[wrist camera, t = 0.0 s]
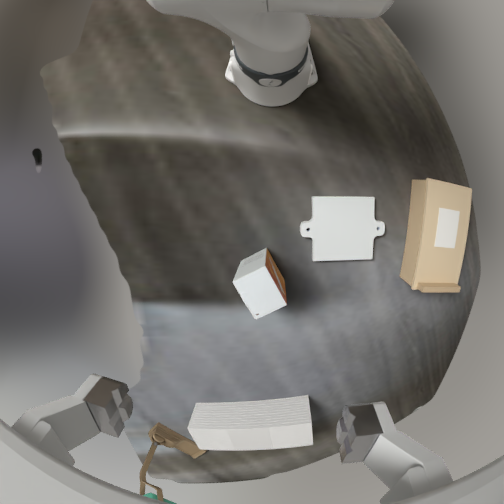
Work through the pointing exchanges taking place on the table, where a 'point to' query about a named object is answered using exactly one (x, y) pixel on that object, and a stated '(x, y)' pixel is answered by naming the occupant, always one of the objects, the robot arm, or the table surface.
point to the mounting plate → (342, 228)
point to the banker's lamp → (169, 439)
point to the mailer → (413, 230)
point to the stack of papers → (252, 424)
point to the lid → (442, 237)
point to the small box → (260, 284)
